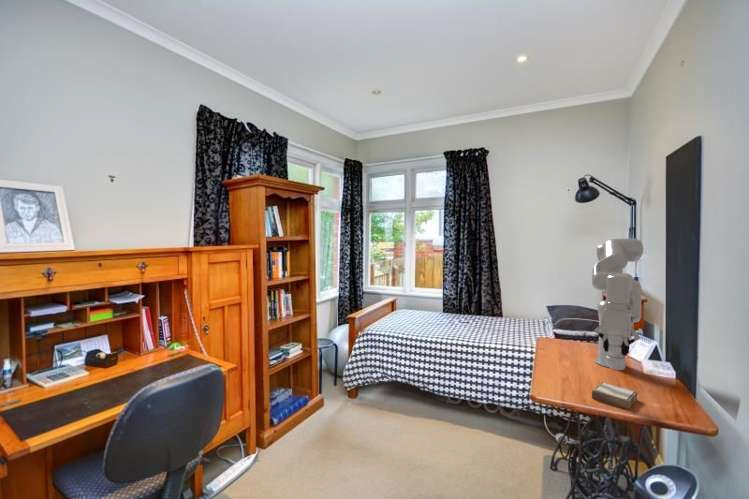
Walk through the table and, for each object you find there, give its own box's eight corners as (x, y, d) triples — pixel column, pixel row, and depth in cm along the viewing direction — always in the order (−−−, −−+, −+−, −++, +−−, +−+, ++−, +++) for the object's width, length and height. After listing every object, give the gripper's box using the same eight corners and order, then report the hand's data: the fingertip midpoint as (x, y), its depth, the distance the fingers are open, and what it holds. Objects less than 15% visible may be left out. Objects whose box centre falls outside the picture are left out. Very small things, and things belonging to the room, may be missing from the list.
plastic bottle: (626, 373, 133) (628, 321, 132) (605, 369, 137) (606, 318, 136) (625, 368, 139) (627, 317, 138) (604, 364, 142) (606, 315, 141)
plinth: (601, 389, 147) (602, 381, 147) (636, 399, 138) (637, 391, 138) (591, 398, 139) (592, 390, 139) (628, 409, 130) (628, 400, 130)
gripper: (647, 309, 133) (645, 356, 133) (595, 302, 146) (594, 345, 146) (642, 311, 128) (640, 361, 129) (589, 304, 141) (587, 349, 141)
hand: (615, 352), depth 137 cm, fingers closed on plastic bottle, 5 cm apart
